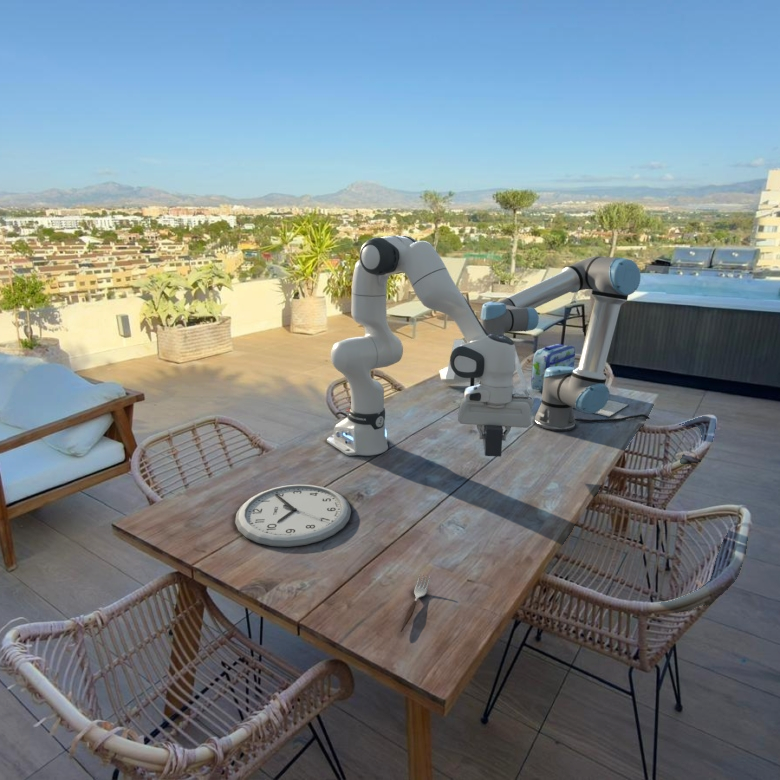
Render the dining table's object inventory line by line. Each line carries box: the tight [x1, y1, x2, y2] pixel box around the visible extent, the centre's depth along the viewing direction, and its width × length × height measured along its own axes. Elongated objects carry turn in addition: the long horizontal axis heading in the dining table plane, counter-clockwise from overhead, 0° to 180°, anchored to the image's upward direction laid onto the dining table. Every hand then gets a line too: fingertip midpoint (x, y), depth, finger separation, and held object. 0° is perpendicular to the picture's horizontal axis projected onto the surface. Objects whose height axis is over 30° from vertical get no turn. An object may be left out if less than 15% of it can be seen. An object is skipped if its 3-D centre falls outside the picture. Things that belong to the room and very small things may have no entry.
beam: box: [481, 425, 504, 458], centre depth 162 cm, size 36×4×8 cm, turn 173°
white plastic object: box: [438, 333, 531, 396], centre depth 245 cm, size 37×45×31 cm
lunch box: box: [530, 343, 576, 392], centre depth 248 cm, size 26×11×21 cm, turn 134°
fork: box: [400, 573, 431, 633], centre depth 105 cm, size 3×16×2 cm, turn 160°
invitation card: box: [595, 399, 629, 418], centre depth 226 cm, size 21×1×15 cm
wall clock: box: [234, 484, 352, 548], centre depth 138 cm, size 30×2×30 cm
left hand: (492, 439), depth 150 cm, fingers closed on beam, 4 cm apart
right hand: (486, 419), depth 175 cm, fingers closed on beam, 4 cm apart
